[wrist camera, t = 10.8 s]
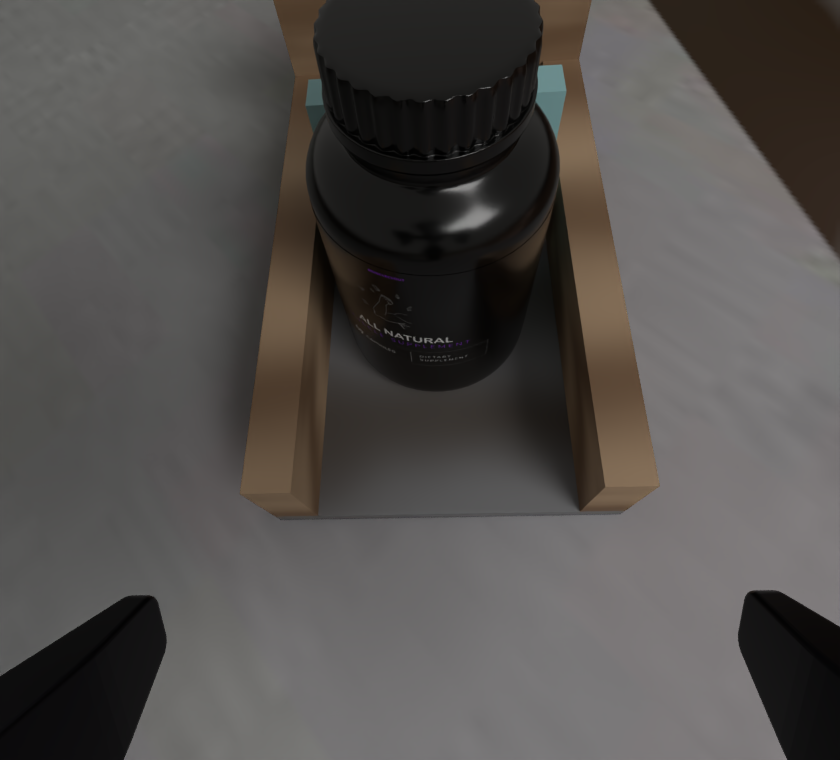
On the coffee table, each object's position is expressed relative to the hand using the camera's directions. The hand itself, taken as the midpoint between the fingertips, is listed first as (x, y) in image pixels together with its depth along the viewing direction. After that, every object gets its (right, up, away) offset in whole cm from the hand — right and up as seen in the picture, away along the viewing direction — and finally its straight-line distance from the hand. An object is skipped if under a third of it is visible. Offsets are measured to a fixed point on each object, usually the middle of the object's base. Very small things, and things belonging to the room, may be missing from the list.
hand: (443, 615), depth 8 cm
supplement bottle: (0, +6, +14) cm, 15 cm away
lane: (+1, +8, +15) cm, 17 cm away
